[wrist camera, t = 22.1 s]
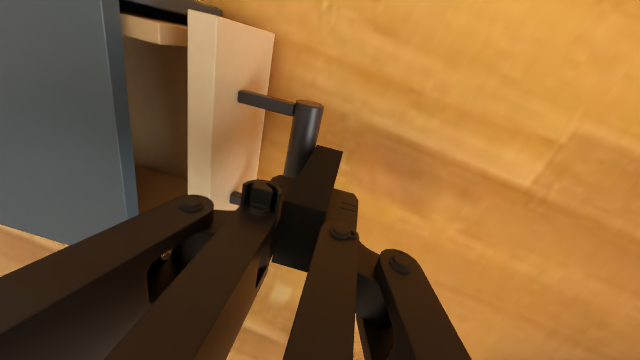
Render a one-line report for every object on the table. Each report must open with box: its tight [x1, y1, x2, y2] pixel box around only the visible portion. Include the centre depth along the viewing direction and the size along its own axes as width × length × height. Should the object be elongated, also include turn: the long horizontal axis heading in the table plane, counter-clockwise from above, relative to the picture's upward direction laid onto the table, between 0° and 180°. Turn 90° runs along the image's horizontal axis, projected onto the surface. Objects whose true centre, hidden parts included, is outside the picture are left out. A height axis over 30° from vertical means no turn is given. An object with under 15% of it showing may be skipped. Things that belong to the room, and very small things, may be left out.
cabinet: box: [0, 0, 222, 245], centre depth 16 cm, size 17×14×9 cm
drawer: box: [120, 9, 324, 214], centre depth 16 cm, size 20×12×7 cm, turn 77°
